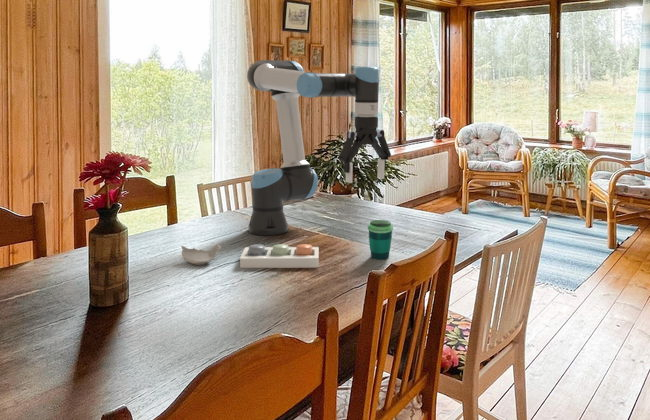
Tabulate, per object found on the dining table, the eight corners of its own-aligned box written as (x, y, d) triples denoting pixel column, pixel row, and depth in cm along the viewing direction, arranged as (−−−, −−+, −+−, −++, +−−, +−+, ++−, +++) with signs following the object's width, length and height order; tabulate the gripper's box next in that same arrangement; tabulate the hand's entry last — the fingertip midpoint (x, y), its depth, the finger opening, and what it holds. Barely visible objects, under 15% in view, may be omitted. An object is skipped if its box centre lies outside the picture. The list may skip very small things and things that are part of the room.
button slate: (248, 258, 172) (247, 248, 172) (250, 253, 177) (249, 244, 176) (264, 258, 172) (263, 248, 172) (265, 253, 177) (265, 244, 176)
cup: (394, 255, 181) (395, 220, 178) (389, 263, 173) (390, 226, 171) (370, 253, 184) (371, 218, 181) (364, 260, 176) (364, 224, 173)
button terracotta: (296, 257, 172) (296, 248, 172) (296, 253, 177) (296, 244, 177) (312, 257, 172) (312, 248, 172) (312, 253, 177) (312, 244, 177)
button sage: (272, 258, 172) (271, 248, 172) (273, 253, 177) (273, 244, 176) (288, 257, 172) (287, 248, 172) (289, 253, 177) (288, 244, 177)
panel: (240, 267, 169) (240, 258, 169) (245, 256, 181) (245, 247, 180) (318, 267, 169) (318, 258, 169) (318, 255, 181) (318, 246, 180)
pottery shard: (177, 262, 175) (176, 247, 174) (207, 254, 183) (206, 240, 182) (195, 269, 168) (194, 253, 167) (225, 261, 176) (225, 246, 174)
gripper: (342, 117, 169) (341, 186, 174) (402, 115, 183) (400, 178, 188) (328, 116, 175) (328, 182, 180) (387, 114, 189) (385, 175, 193)
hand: (365, 180), depth 184 cm, fingers open, 13 cm apart
